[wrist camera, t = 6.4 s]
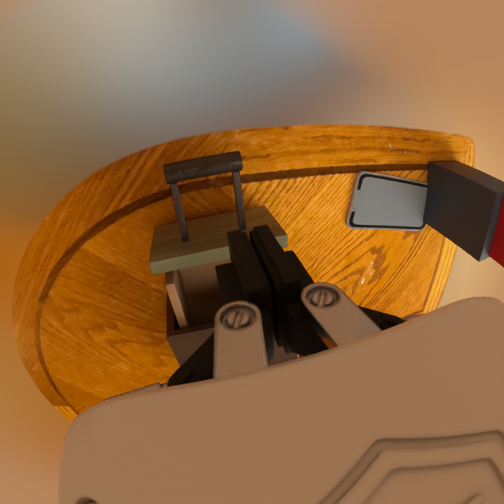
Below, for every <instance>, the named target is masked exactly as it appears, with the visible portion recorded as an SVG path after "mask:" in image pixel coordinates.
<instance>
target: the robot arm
mask: <svg viewBox="0 0 504 504" xmlns="http://www.w3.org/2000/svg"><path fill="white" fill-rule="evenodd" d="M249 237H250V240H249V238H248V236H247V234H246V232H242V233H241V231H240V229H239V230H234V231H228V232H227V239H228V246H229V252H230V259H231V263H226V264H221V265H216V266H215V270H216V275H217V280H218V285H219V290H220V294H221V299H222V304H223V306H222V307H221V308H220V309H219V310H218V311H217V313H216V316H215V328H214V332H213V333H212V334H211V335H210V337H209V338H208V339H207V340H206V341H205V342H204V343H203V344H202V345H201V346H200V347H199V348H198V349H197V350H196V351H195V352H194V353H193V354H192V355H191V356H190V357H189V358H188V359H187V360H186V361H185V362H184V363H183V365H182V366H181V367H180V368H179V369H178V370H177V371H176V372H175V373H174V374H173V375H172V376H171V378H170V379H169V381H168V382H167V383H164V384H160V383H159V382H157V383H154V384H151V385H148V386H145V387H142V388H139V389H136V390H133V391H129V392H126V393H123V394H120V395H116V396H113V397H110V398H108V399H106V400H104V401H103V402H101V403H99V404H96V405H94V406H92V407H90V408H88V409H87V410H85V411H83V412H82V413H81V414H79V415H78V416H77V417H76V418H75V419H74V420H73V421H72V423H71V425H70V426H69V428H68V431H67V433H66V436H65V440H64V444H63V449H62V454H61V461H60V471H59V491H58V494H59V504H504V303H503V302H501V301H500V300H498V299H495V298H491V297H472V298H467V299H463V300H459V301H457V302H453V303H450V304H448V305H446V306H443V307H440V308H438V309H436V310H433V311H431V312H428V313H426V314H420V315H414V316H408V317H405V319H404V320H403V319H401V318H399V317H396V316H393V315H390V314H386V313H382V312H379V311H375V310H371V309H368V308H364V307H360V306H357V305H356V304H355V303H354V302H353V301H352V300H351V299H350V298H349V297H348V296H347V295H346V294H345V293H344V292H343V291H342V290H341V289H340V288H338V287H337V286H335V285H333V284H330V283H325V282H318V283H314V281H313V280H312V278H311V277H310V275H309V274H308V272H307V271H306V269H305V268H304V266H303V265H302V263H301V262H300V260H299V259H298V258H297V256H296V255H295V253H294V252H293V251H286V252H284V250H283V249H282V247H281V246H280V244H279V243H278V241H277V239H276V238H275V236H274V235H273V233H272V232H271V230H270V228H269V227H268V225H267V224H266V225H261V226H255V227H253V230H252V231H249ZM274 338H275V340H276V343H277V345H278V347H282V346H283V348H284V350H285V353H286V354H288V353H292V352H293V353H296V354H299V358H298V359H295V360H291V361H287V362H284V363H280V364H276V365H272V366H268V364H269V362H270V361H271V360H272V358H273V357H274V348H275V343H274Z"/></svg>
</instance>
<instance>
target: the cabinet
mask: <svg viewBox="0 0 504 504" xmlns="http://www.w3.org/2000/svg"><path fill="white" fill-rule="evenodd" d="M214 328H215V322H213V323H208V324H203V325H198V326H193V327H188V328H183V329H180V326H179V323H178V321H177V318H176V315H175V312H174V310H173V307H172V304H171V301H170V298H169V295H168V292H167V339H168V341H169V343H170V345H171V348H172V350H173V352H174V354H175V356H176V359H177V361H178V363H179V365H180V367H181V366H182V365H183V363H184V362H185V361H186V360H187V359H188V358H189V357H190V356H191V355H192V354H193V353H194V352H195V351H196V350H197V349H198V348H199V347H200V346H201V345H202V344H203V343H204V342H205V341H206V340H207V339H208V338H209V337H210V335H211V334H212V333H213V332H214ZM274 343H275V348H274V357H273V358H272V360H271V361H270V362H269V364H268V366H272V365H276V364H280V363H284V362H287V361H291V360H295V359H298V354H296V353H293V352H292V353H288V354H286V353H285V350H284V348H283V346H282V347H278V345H277V343H276V340H275V338H274Z"/></svg>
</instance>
